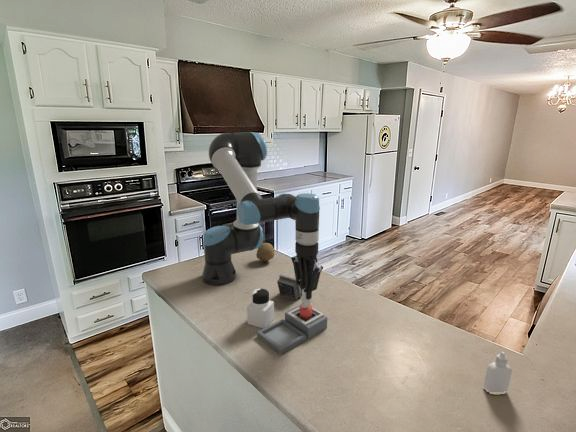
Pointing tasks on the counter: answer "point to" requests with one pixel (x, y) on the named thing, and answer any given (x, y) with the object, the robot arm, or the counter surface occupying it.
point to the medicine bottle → (260, 309)
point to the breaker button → (305, 312)
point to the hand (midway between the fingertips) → (306, 305)
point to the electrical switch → (289, 287)
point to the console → (292, 330)
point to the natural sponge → (265, 252)
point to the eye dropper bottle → (498, 374)
